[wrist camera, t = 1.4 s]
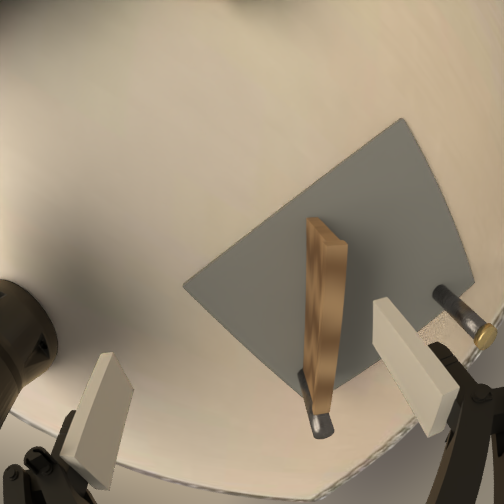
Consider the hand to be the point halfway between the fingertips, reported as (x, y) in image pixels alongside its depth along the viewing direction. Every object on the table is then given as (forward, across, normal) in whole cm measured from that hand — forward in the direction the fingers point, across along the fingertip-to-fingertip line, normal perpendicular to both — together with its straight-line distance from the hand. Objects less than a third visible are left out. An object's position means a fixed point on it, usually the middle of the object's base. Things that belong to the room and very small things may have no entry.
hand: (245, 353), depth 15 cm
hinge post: (+20, +5, -21) cm, 29 cm away
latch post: (+19, +25, -14) cm, 34 cm away
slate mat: (+19, +12, -10) cm, 25 cm away
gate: (+18, +7, -10) cm, 22 cm away
